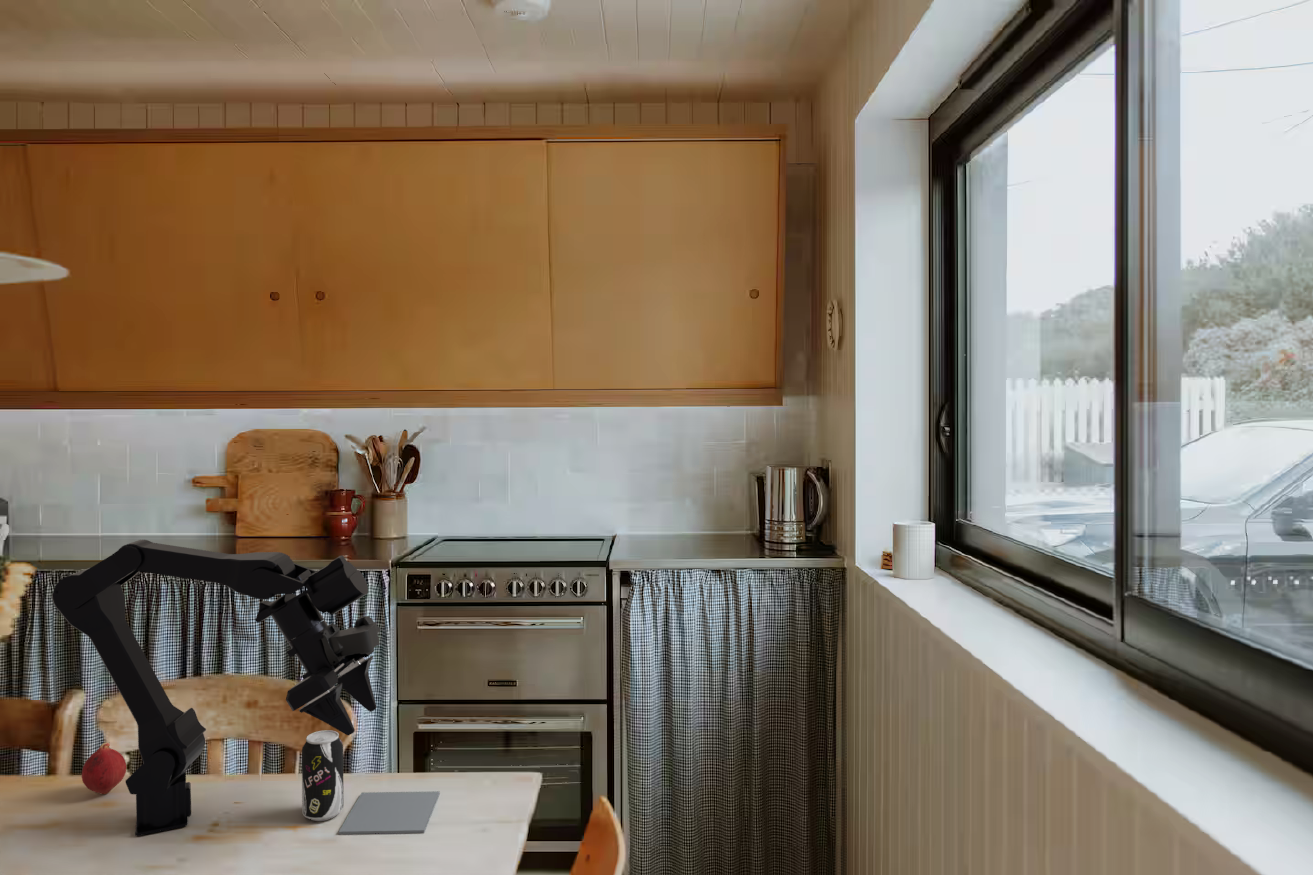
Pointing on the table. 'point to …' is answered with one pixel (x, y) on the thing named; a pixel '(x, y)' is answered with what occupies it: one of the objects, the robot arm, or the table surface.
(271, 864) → the table surface
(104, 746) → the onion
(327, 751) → the beverage can
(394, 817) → the mat
